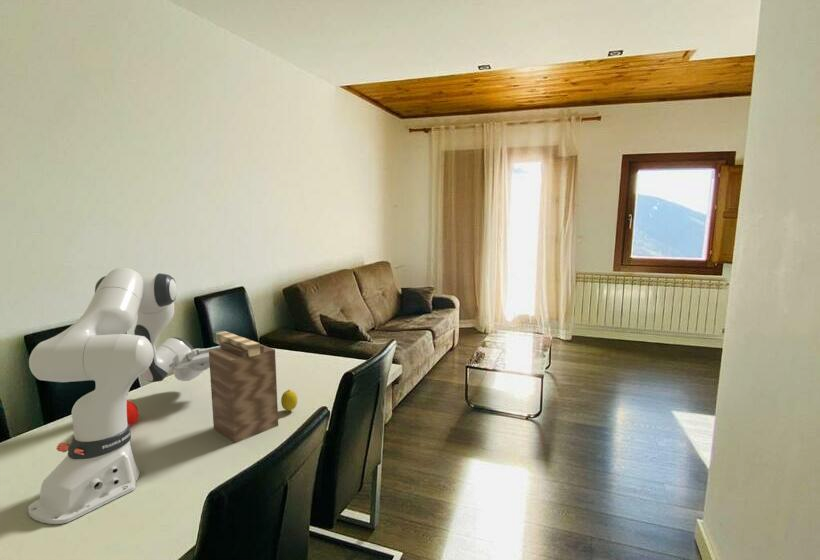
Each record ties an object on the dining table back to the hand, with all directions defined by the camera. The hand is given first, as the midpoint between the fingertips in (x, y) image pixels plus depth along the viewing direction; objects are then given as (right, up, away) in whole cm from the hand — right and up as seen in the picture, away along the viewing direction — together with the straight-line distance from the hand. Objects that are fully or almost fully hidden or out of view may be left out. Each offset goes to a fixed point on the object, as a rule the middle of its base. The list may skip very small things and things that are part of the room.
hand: (210, 349), depth 152 cm
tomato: (-24, -24, -14) cm, 37 cm away
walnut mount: (+17, -24, -12) cm, 31 cm away
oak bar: (+14, +2, -13) cm, 19 cm away
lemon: (+28, -22, 0) cm, 36 cm away
